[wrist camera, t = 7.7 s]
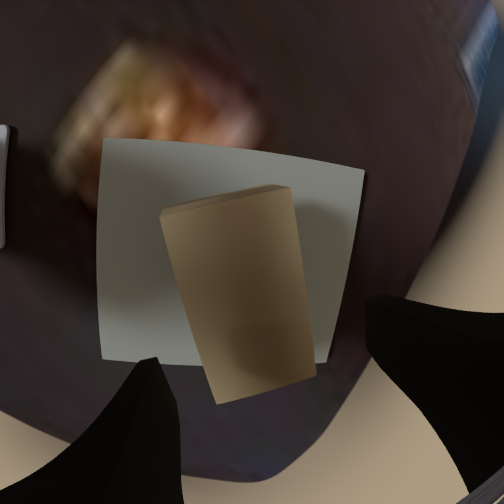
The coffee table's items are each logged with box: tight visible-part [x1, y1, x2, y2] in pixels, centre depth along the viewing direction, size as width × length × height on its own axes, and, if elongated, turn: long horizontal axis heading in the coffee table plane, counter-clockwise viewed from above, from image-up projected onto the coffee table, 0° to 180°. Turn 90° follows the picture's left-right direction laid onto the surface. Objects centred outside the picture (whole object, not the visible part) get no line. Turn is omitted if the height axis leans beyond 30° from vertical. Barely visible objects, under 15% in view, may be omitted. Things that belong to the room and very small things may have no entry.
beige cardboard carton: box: [159, 184, 317, 404], centre depth 16 cm, size 5×9×6 cm, turn 11°
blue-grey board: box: [96, 138, 365, 366], centre depth 20 cm, size 16×14×1 cm
